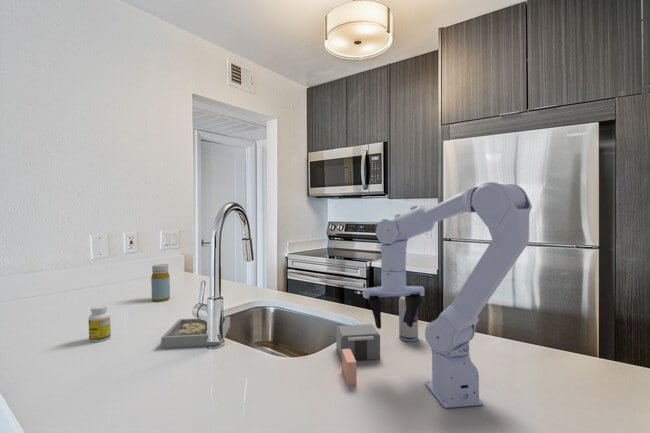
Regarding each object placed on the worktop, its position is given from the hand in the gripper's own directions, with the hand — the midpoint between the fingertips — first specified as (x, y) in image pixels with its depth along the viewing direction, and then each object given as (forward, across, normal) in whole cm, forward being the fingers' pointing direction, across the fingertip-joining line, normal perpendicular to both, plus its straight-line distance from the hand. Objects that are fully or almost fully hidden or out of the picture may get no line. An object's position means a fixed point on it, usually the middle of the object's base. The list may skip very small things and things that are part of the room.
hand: (393, 326), depth 80 cm
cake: (+10, +54, -27) cm, 61 cm away
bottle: (+10, +79, -74) cm, 109 cm away
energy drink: (+10, -10, -17) cm, 22 cm away
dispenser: (+10, +7, -9) cm, 15 cm away
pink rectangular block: (+10, +12, +3) cm, 15 cm away
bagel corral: (+10, +52, -28) cm, 60 cm away
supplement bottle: (+10, +81, -30) cm, 87 cm away
